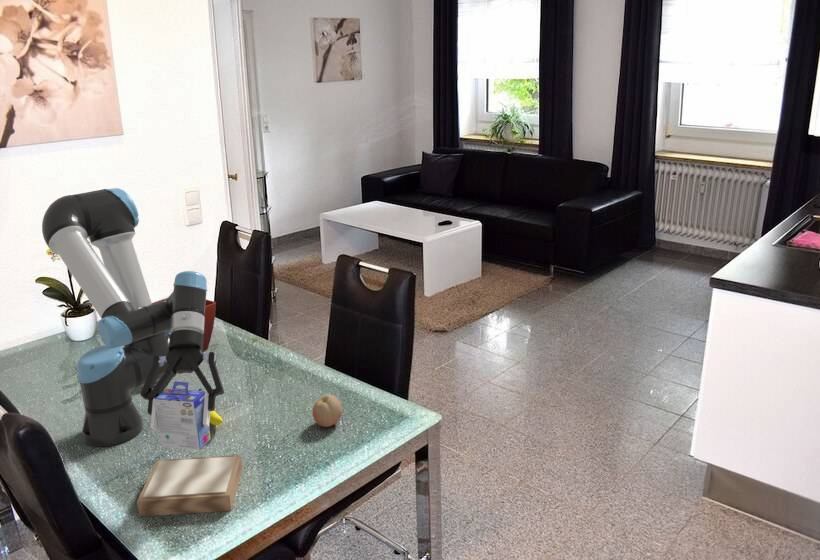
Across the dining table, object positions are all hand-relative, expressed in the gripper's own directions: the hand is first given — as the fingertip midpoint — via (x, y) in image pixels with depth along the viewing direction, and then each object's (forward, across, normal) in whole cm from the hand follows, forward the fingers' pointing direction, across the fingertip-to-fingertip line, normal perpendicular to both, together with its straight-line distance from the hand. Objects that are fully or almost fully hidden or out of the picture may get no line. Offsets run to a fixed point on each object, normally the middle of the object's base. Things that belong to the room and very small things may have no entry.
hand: (180, 427), depth 152 cm
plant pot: (-47, -22, +73) cm, 90 cm away
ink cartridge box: (+2, 0, +6) cm, 7 cm away
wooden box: (+11, 0, +15) cm, 19 cm away
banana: (-12, -2, +38) cm, 40 cm away
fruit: (-8, +30, +35) cm, 46 cm away
